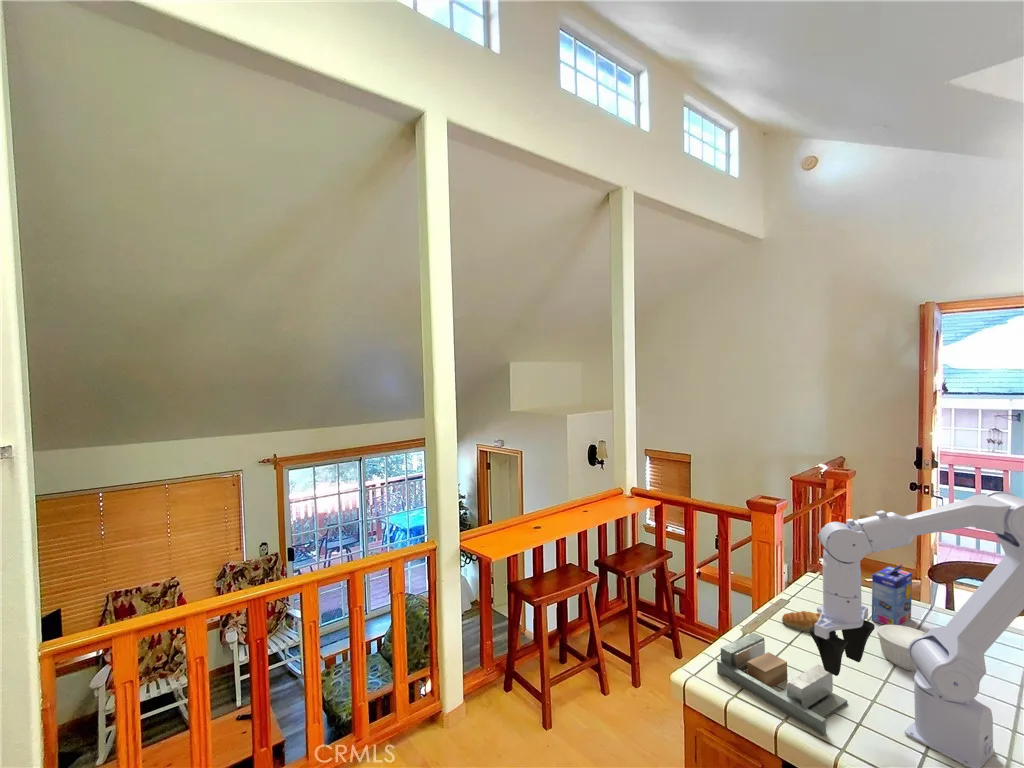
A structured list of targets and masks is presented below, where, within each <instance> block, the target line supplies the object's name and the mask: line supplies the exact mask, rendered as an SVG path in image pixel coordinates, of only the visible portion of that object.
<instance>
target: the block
mask: <svg viewBox="0 0 1024 768" xmlns="http://www.w3.org/2000/svg"><path fill="white" fill-rule="evenodd" d="M746 671H747V673H746V674H748V675H749V676H751V677H753V678H755V679H756V680H758V681H760V682H762V683H763V684H765V685H767V686H769V687H770V688H772V689H774V688H775V687H777V686H779V685H781V684H783V683H785V682H788V661H786V660H784V659H782V658H781V657H778V656H777V655H775V654H773V653H771V652H765V654H764V655H761V656H759V657H757V658H754V659H752V660H750V661H748V662H747V669H746Z"/></svg>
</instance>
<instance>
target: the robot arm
mask: <svg viewBox="0 0 1024 768" xmlns="http://www.w3.org/2000/svg"><path fill="white" fill-rule="evenodd" d="M845 521H846V523H844V522H840V521H831V522H828V523H826V524H825V525H824V526H823V527H822V528H821V529H820V531H819V533H818V534H817V537H818V541H819V542H820V545H822V546H823V547H824V548H823V550H822V552H823V553H822V558H823V561H822V605H819V606H817V607H816V612H817V613H820V614H821V615H820V617H819V620H818V622H817V623H815V624H814V626H813V627H811V628H810V632H809V635H810V637H811V639H812V640H813V641H814V643H815V646H816V647H817V650H818V652H819V655H820V659H821V663H822V666H823V667H824V670H825V671H827V672H829V673H831V674H832V676H835V677H838V676H839V675H840V673H841V669H842V668H841V667H842V666H841V665H842V659H843V655H844V653H845V657H846V658H848V659H849V660H852V661H854V662H856V663H858V664H859V663H861V661H862V658H863V656H864V652H865V648H866V644H867V642H868V639H869V637H870V636H871V634H872V633H873V631H875V628H876V627H875V626H876V625H875V623H873V622H871V621H868V620H866V619H868V618H869V607H867V606H864V605H862V569H861V561H862V560H863V559H864V557H866V555H867V554H872V553H877V552H881V551H886V550H887V551H888V550H890V549H891V550H892V549H895V548H896V549H897V548H901V547H906V546H909V545H910V544H912V542H913V540H914V538H915V537H916V536H923V535H928V534H934V533H940V532H941V533H942V532H946V531H953V530H959V529H965V528H972V527H973V528H977V529H980V530H984V531H989V532H992V533H994V534H995V535H996V536H997V540H998V541H999V543H1000V545H1001V548H1002V549H1003V552H1004V557H1003V558H1002V559H1001V560H1000V562H998V564H997V565H996V566H995V567H994V569H992V571H991V572H990V573H989V574H988V575H987V577H986V578H985V579H984V580H983V581H982V582H981V584H980V585H979V586H978V587H977V588H976V590H974V592H973V593H972V594H971V596H970V597H969V598H968V599H967V600H966V602H965V603H963V605H962V606H961V607H960V609H958V611H957V612H956V613H955V615H953V617H952V618H950V620H949V621H948V622H947V624H945V626H944V625H943V626H938V627H937V626H935V627H931V628H930V629H929V630H928V632H926V633H927V634H925V635H923V636H921V637H918V638H916V639H914V640H913V641H912V642H911V643H910V645H909V647H908V653H909V657H910V659H911V660H912V662H913V663H914V664H915V665H916V667H917V671H916V672H914V677H913V681H914V683H913V684H914V685H913V686H914V687H913V689H914V692H913V693H914V696H913V697H914V721H913V723H911V724H910V726H908V727H907V728H906V729H905V730H904V734H905V735H906V736H908V737H909V738H912V739H914V740H915V741H918V742H919V743H921V744H924V745H925V746H926V747H929V748H931V749H932V750H934V751H936V752H938V753H940V754H942V755H944V756H946V757H948V758H950V759H952V760H954V761H955V762H958V764H959V763H960V764H961V765H963V766H965V767H967V768H982V767H983V766H984V765H985V764H986V762H988V760H989V759H990V758H991V757H992V756H993V755H994V754H995V753H996V750H995V748H994V723H993V722H994V721H993V720H994V719H993V713H992V709H991V708H990V707H988V706H987V705H985V704H984V703H982V702H980V701H978V700H977V699H976V697H977V696H978V694H979V691H980V685H981V684H980V683H981V681H982V678H984V676H985V675H986V674H987V667H986V660H985V654H986V652H987V651H988V650H989V649H990V648H991V647H992V645H993V644H994V643H995V642H996V641H997V640H998V639H999V638H1000V637H1001V635H1002V634H1003V633H1004V632H1005V631H1006V630H1007V629H1008V628H1009V626H1010V625H1011V624H1012V623H1013V622H1014V621H1015V620H1016V618H1017V617H1018V616H1019V615H1020V614H1021V613H1022V611H1024V498H1022V497H1019V496H1017V495H1016V494H1013V493H1010V492H1006V491H991V492H989V493H986V494H984V493H983V494H982V493H981V494H974V495H972V496H969V497H967V498H964V499H962V500H959V501H955V502H951V503H948V504H945V505H941V506H937V507H934V508H933V507H932V508H928V509H927V510H926V509H925V510H922V511H920V512H915V513H913V514H912V513H911V514H907V515H905V516H903V515H900V514H898V513H896V512H893V511H890V512H886V511H884V510H883V509H881V510H877V511H875V515H871V516H867V517H864V518H860V519H859V518H858V519H853V518H848V519H845ZM837 631H841V633H842V638H841V637H839V635H838V634H837V633H836V632H837Z"/></svg>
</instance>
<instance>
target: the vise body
mask: <svg viewBox="0 0 1024 768" xmlns="http://www.w3.org/2000/svg"><path fill="white" fill-rule="evenodd" d="M765 646H766V642H765V637H764V636H761V635H760V634H757V633H755V632H752V633H750V634H747V635H745V636H743V637H741V638H739V639H736V640H734V641H732V642H730V643H727V644H725V645H722V646H721V647H720V659H718V660H716V666H717V667H716V671H717V674H719V675H720V676H722V677H723V678H725V677H726V678H725V679H727V680H729V681H730V680H731V681H730V682H732V683H734V684H735V683H736V684H735V685H737V686H739V687H740V688H741V689H744V690H745V691H747V692H749V693H750V694H752V695H754V696H756V698H758V699H760V700H762V701H764V702H766V703H767V704H769V705H770V706H771V707H773V708H775V709H777V710H778V711H780V712H781V713H784V714H785V715H787V716H788V717H790V718H791V719H793V720H795V721H797V722H799V723H800V724H802V725H804V726H805V727H806V728H808V729H811V730H812V731H813V732H815V733H817V734H818V735H820V736H825V735H827V718H828V717H830V716H832V715H833V714H834V713H836V712H837V711H839V710H840V709H842V708H844V707H845V706H846V705H847V704H848V699H845V698H844V697H841V696H840V695H838V694H836V693H834V692H833V691H832V692H831V693H829V694H828V695H826V696H825V697H823V698H822V699H820V700H818V701H817V702H815V703H814V704H812V705H811V706H809V707H807V708H806V707H804V706H802V705H800V704H799V703H797V702H795V701H793V700H792V699H790V698H788V697H787V687H786V688H785V689H782V690H781V691H777V690H776V689H774V688H770V687H769V686H767V685H765V684H763V683H762V682H760V681H758V680H756V679H755V678H753V677H751V676H749V675H748V674H747V673H745V671H747V662H748V661H750V660H752V659H754V658H757V657H759V656H761V655H764V654H766V647H765ZM744 670H745V671H744Z"/></svg>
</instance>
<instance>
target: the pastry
mask: <svg viewBox="0 0 1024 768" xmlns="http://www.w3.org/2000/svg"><path fill="white" fill-rule="evenodd" d="M820 615H821V613H819V612H817V613H815V612H811V611H806V610H801V611H796V612H795V611H793V612H790V613H789V612H788V613H784V614H783V615H782V618H781V621H782V623H783V624H785V625H786V626H787V627H789V628H791V629H794V630H795V629H796V630H799V631H801V632H807V633H810V628H811V627H813V626H814V624H815V623H817V622H818V620H819V617H820Z"/></svg>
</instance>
